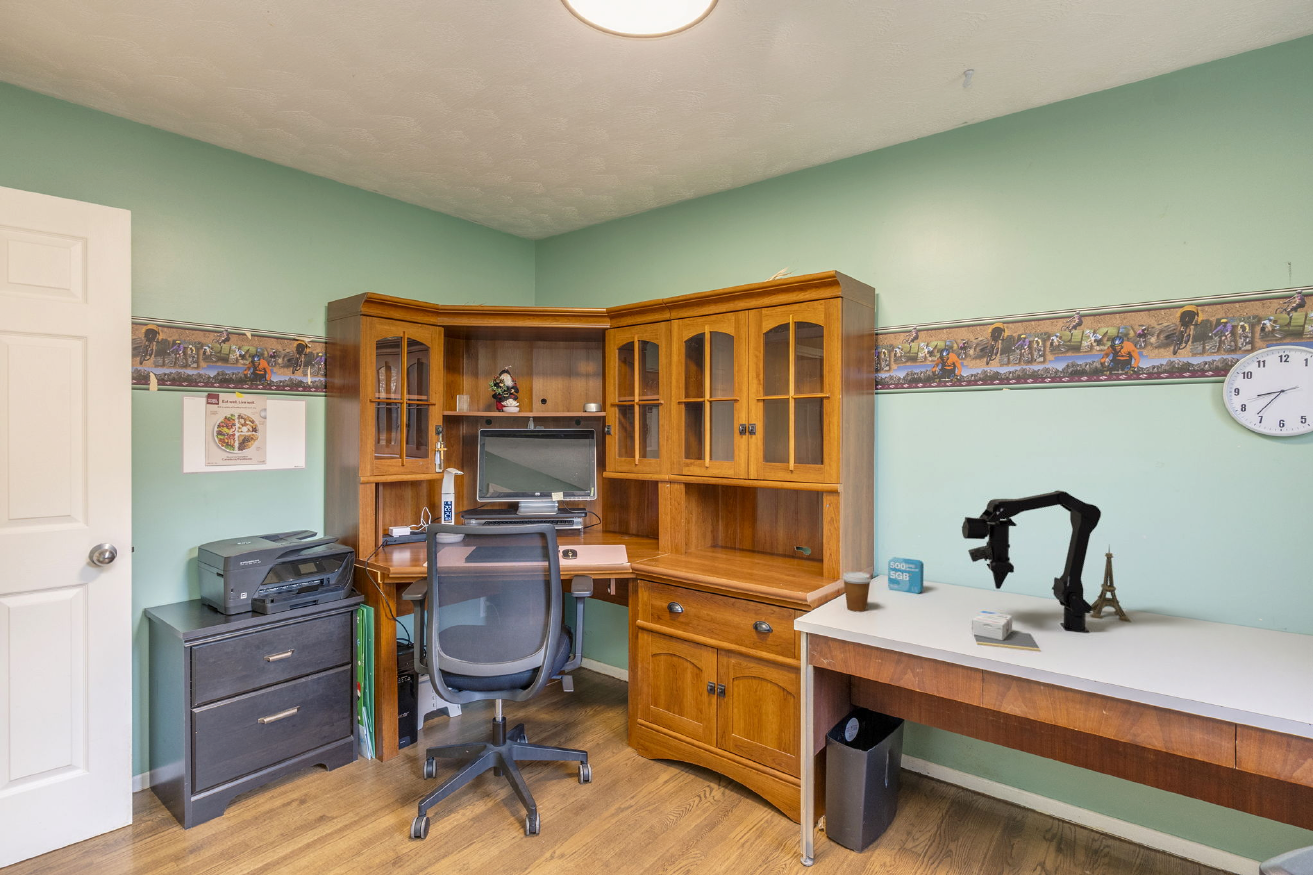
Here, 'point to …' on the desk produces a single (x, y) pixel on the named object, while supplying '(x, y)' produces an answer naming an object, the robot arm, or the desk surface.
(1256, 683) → the desk surface
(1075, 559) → the robot arm
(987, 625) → the ink box
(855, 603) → the disposable coffee cup
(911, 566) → the data package
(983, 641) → the mat
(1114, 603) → the eiffel tower
